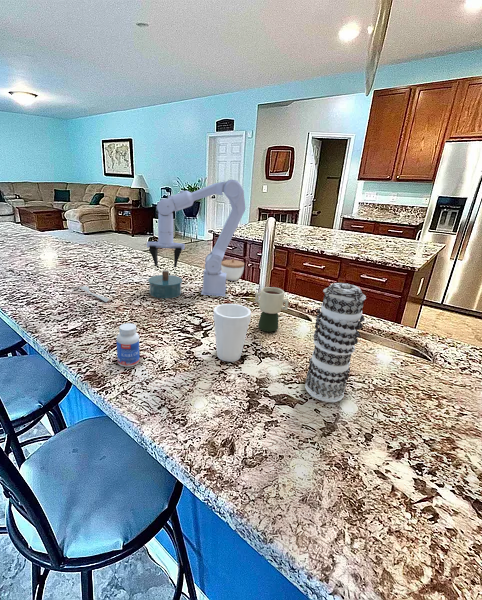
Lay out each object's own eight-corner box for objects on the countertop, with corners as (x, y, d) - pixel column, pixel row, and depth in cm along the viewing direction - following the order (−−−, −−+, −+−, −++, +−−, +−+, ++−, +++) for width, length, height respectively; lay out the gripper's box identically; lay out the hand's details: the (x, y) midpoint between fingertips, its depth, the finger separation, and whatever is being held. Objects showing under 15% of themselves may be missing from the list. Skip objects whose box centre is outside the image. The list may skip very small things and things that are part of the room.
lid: (184, 278, 131) (184, 267, 130) (179, 289, 119) (179, 277, 117) (152, 276, 132) (152, 265, 130) (144, 286, 120) (144, 274, 118)
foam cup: (249, 350, 88) (254, 307, 84) (242, 368, 80) (246, 320, 75) (217, 344, 91) (219, 301, 86) (206, 360, 83) (208, 314, 78)
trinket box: (241, 283, 145) (243, 262, 142) (218, 280, 147) (219, 260, 143) (244, 276, 155) (245, 257, 151) (222, 274, 157) (223, 255, 153)
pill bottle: (120, 369, 77) (118, 333, 74) (115, 358, 82) (113, 323, 78) (142, 364, 80) (141, 329, 76) (136, 354, 84) (135, 320, 80)
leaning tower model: (341, 409, 67) (368, 298, 58) (298, 393, 72) (316, 287, 63) (349, 387, 75) (374, 285, 66) (309, 374, 79) (327, 276, 70)
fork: (105, 309, 116) (105, 302, 115) (72, 289, 127) (72, 283, 126) (112, 306, 119) (112, 300, 117) (79, 288, 129) (78, 281, 128)
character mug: (288, 330, 102) (294, 291, 97) (279, 338, 96) (284, 298, 91) (257, 320, 107) (261, 283, 103) (247, 327, 102) (251, 289, 97)
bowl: (183, 290, 133) (183, 277, 131) (178, 300, 121) (178, 286, 119) (153, 288, 133) (153, 275, 131) (146, 298, 122) (145, 284, 120)
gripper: (144, 232, 119) (145, 267, 124) (183, 234, 118) (182, 270, 123) (148, 229, 125) (149, 263, 130) (185, 231, 125) (185, 265, 129)
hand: (165, 266), depth 127 cm, fingers open, 7 cm apart
